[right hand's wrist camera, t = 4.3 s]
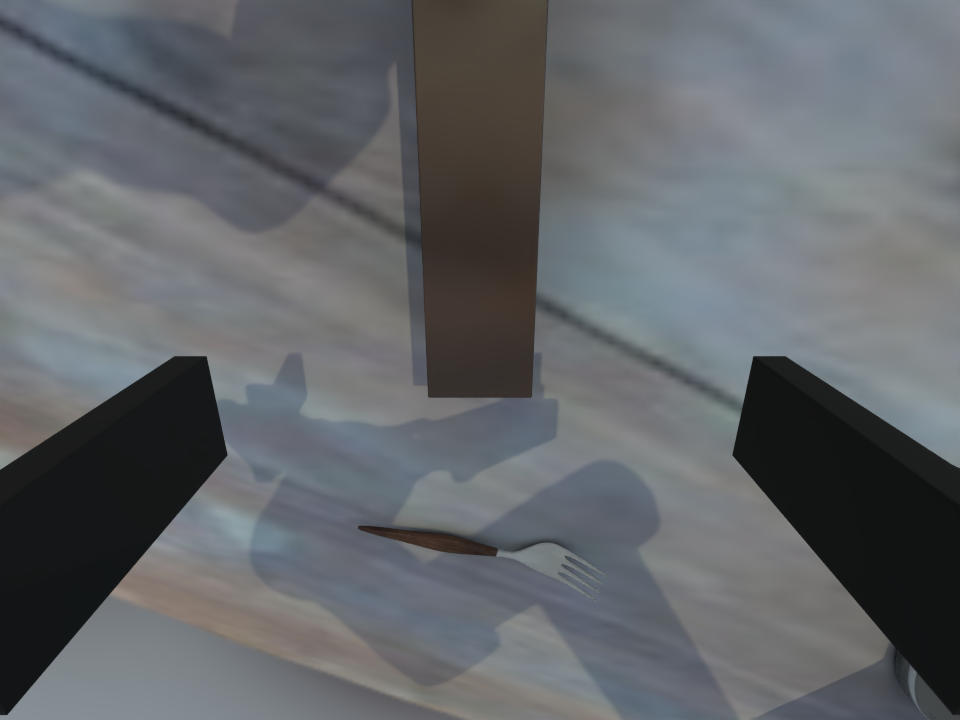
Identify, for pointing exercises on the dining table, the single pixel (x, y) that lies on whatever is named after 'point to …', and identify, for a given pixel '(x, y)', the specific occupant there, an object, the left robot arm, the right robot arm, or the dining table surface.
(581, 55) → the dining table surface
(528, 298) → the walnut beam
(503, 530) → the dining table surface
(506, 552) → the fork
